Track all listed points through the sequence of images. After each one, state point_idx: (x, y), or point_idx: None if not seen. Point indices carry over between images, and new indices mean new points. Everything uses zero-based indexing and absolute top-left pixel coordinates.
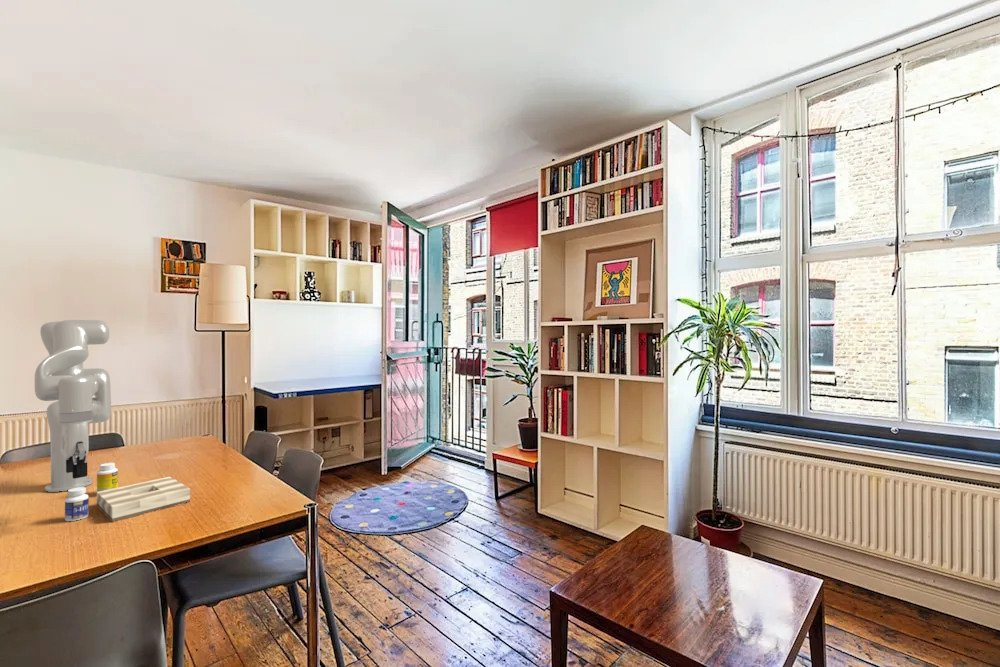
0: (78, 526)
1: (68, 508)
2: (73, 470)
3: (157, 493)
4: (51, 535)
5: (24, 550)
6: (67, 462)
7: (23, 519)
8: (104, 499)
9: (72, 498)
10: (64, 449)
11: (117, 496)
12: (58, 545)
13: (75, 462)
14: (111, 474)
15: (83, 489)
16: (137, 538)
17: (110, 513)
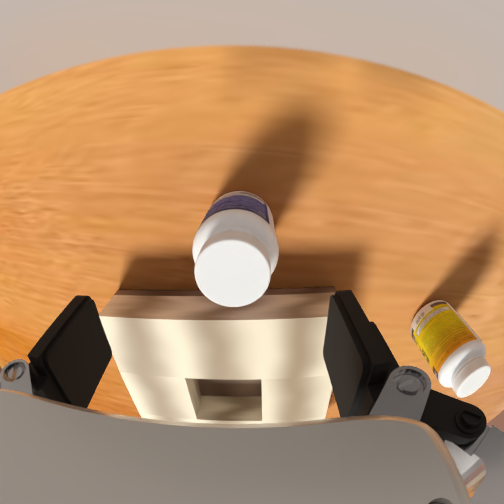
0: (143, 216)
1: (211, 211)
2: (52, 330)
3: (161, 408)
4: (115, 149)
5: (53, 100)
6: (356, 353)
7: (384, 99)
8: (209, 320)
9: (204, 238)
10: (33, 500)
11: (214, 351)
12: (34, 168)
13: (3, 377)
14: (436, 370)
15: (205, 295)
16: (5, 294)
17: (133, 301)
